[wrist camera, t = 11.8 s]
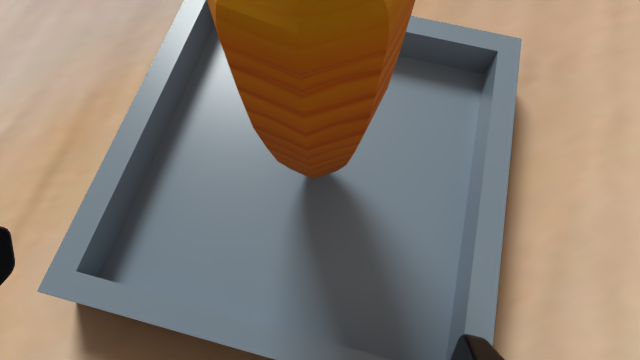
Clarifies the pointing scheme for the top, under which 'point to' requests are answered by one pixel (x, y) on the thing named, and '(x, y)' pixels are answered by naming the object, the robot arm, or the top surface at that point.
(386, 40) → the carrot
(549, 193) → the top surface
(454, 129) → the tray
